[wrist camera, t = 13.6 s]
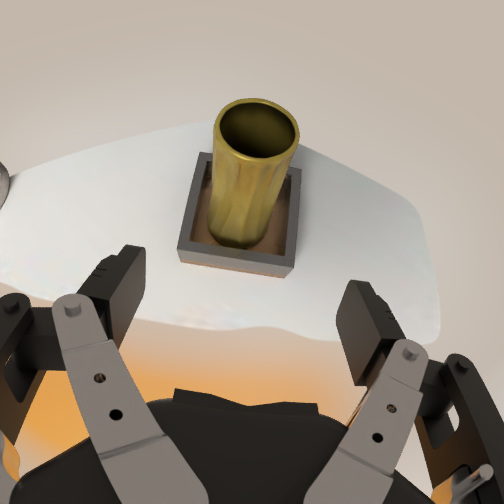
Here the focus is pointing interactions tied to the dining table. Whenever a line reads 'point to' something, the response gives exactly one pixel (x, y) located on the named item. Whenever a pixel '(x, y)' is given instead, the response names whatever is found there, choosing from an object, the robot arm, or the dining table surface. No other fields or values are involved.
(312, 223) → the dining table surface
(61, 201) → the dining table surface
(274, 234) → the square grey tray
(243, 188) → the vase
